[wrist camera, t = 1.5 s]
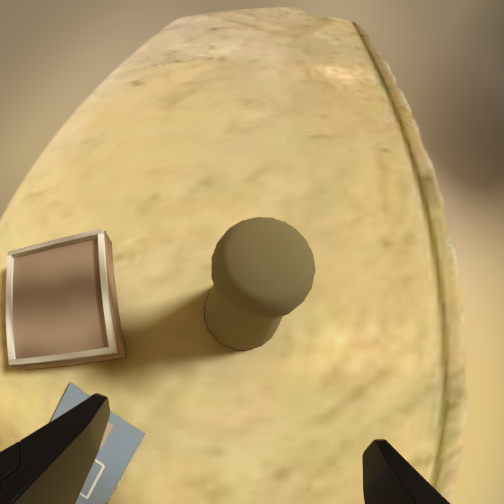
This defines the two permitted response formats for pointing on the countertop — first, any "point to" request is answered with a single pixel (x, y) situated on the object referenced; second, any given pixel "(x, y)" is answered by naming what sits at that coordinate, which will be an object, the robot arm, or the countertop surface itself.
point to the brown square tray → (62, 303)
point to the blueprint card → (104, 451)
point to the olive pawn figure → (256, 281)
